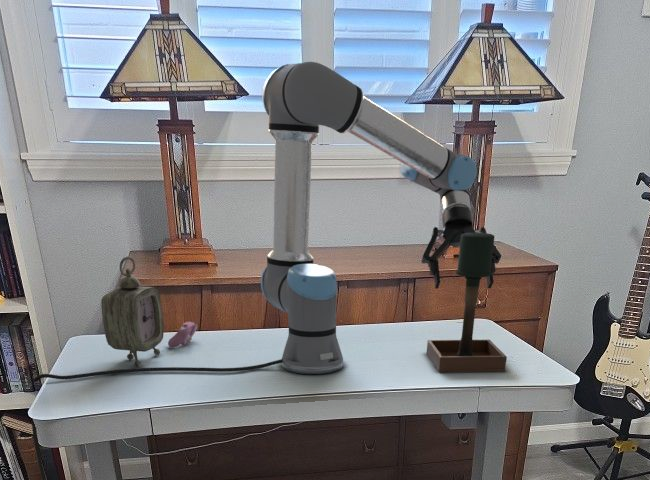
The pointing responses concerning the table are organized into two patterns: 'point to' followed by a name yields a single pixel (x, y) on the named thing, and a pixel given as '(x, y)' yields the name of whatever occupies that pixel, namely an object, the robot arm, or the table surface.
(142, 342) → the tabletop clock
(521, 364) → the table surface
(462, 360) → the holder
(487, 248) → the potato masher grenade
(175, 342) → the pink toy shoe
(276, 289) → the robot arm
